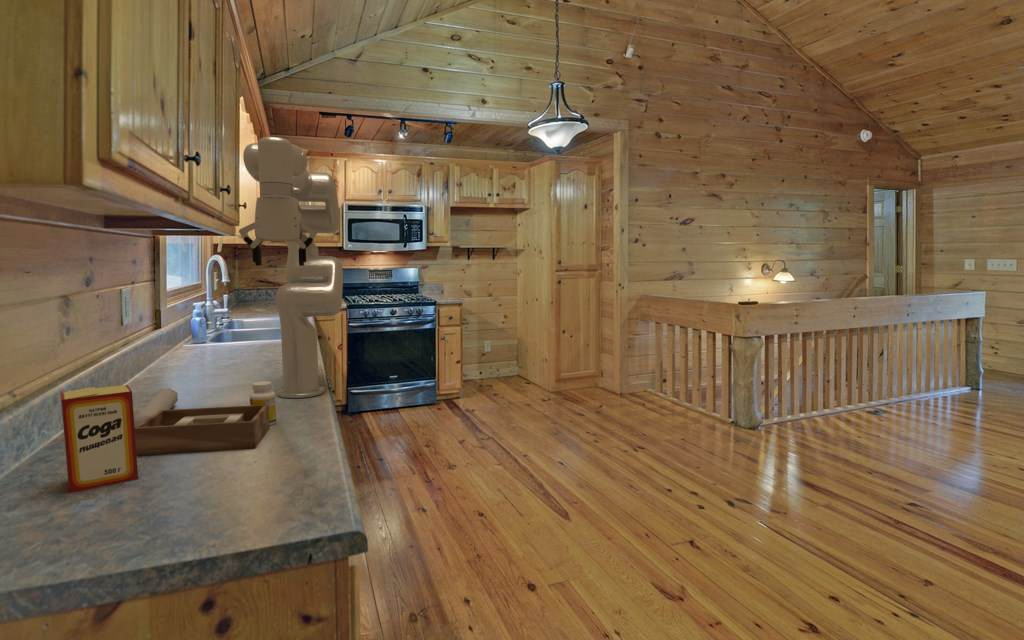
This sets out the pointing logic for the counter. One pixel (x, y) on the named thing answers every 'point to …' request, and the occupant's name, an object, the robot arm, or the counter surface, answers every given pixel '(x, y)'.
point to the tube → (157, 404)
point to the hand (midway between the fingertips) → (280, 265)
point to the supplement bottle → (264, 398)
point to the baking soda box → (99, 436)
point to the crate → (202, 430)
